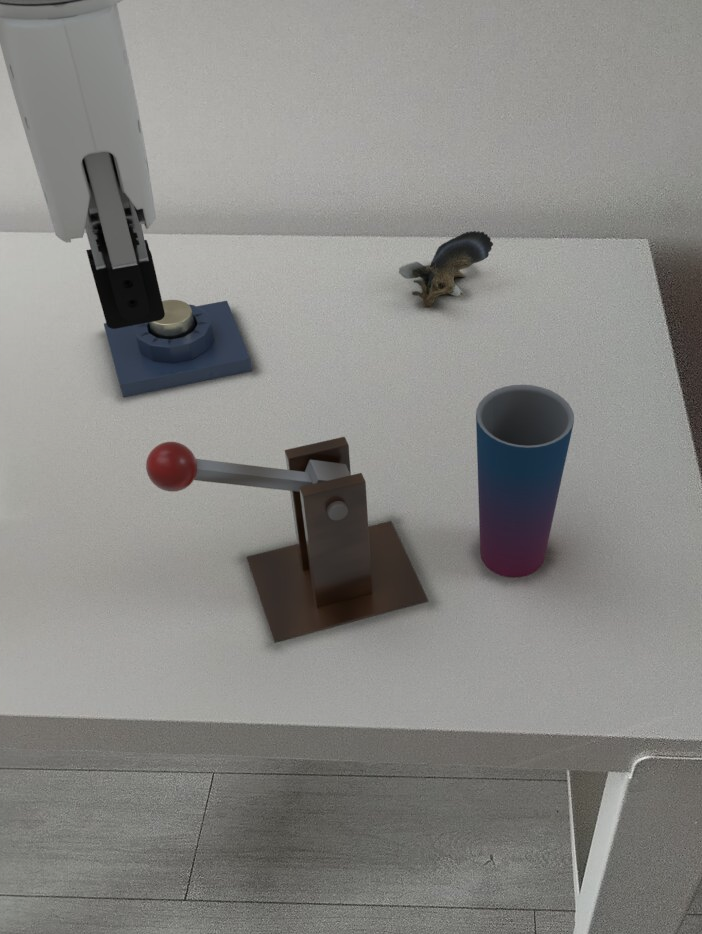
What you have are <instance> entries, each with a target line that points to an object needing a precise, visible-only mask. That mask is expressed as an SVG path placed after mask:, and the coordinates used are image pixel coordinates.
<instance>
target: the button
mask: <svg viewBox="0 0 702 934" xmlns="http://www.w3.org/2000/svg"><path fill="white" fill-rule="evenodd" d="M162 303H163V308H164V312H165V316H164V318H163V319H161V320H159V321H154V322H149V324H150V328H151V332H152V334H153V335H154V336H155V337H157V338H161V339H169V340H171V339H176V338H182V337H185V336H186V335H188V334H190V333H191V332H192V331H193V330H194V327H195V325H194V320H193V315H192V310H191V307H190V306H189V305H190V304H189V303H187V302H186V301H183V300H178V299H165V300H162ZM188 304H189V305H188Z"/></svg>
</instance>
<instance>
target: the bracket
mask: <svg viewBox="0 0 702 934" xmlns="http://www.w3.org/2000/svg"><path fill="white" fill-rule="evenodd" d="M347 440H348V439H347V438H346V437H345V436H340V437H337V438H332V439H328V440H323V441H319V442H315V443H310V444H305V445H301V446H296V447H292V448H287V449H284V457H285V464H286V470H293V471H302V472H305V470H306V467H307V465H308V463H309V460H318V461H326V462H333V463H341V464H346V466H347V468H348V471H349V473H350V476H345V477H341V478H337V479H333V480H328V481H324V482H320V483H315V484H311V485H307V486H303V487H300V488H299V489H300V492H297V491H289V493H290V502H291V509H292V514H293V515H292V516H293V522H294V523H293V524H294V530H295V539H296V544H292V545H288V546H284V547H279V548H276V549H272V550H268V551H264V552H263V551H262V552H260V553H256V554H251V555H248V556H247V555H246V557H245V559H246V561H247V564H248V568H249V570H250V573H251V576H252V580H253V582H254V585H255V588H256V591H257V595H258V597H259V598H258V599H259V601H260V604H261V607H262V609H263V613H264V616H265V619H266V621H267V625H268V628H269V631H270V634H271V637H272V641H273V643H274V644H275V643H279V642H282V641H287V640H290V639H294V638H298V637H301V636H305V635H309V634H313V633H317V632H320V631H324V630H327V629H331V628H335V627H339V626H343V625H346V624H351V623H354V622H358V621H361V620H365V619H369V618H372V617H376V616H381V615H384V614H387V613H391V612H395V611H398V610H402V609H405V608H410V607H414V606H417V605H420V604H425V603H428V602H429V599H428V597H427V594H426V592H425V590H424V588H423V586H422V584H421V582H420V579H419V577H418V575H417V573H416V571H415V569H414V566H413V564H412V562H411V560H410V558H409V556H408V554H407V552H406V550H405V548H404V545H403V543H402V541H401V539H400V537H399V535H398V532H397V531H396V528H395V526H394V524H393V522H392V520H389V521H385V522H380V523H376V524H373V525H369V516H368V514H369V513H368V499H367V498H368V497H367V483H366V482H367V481H366V480H365V477H364V475H363V473H362V472H359V473H355V474H354V473H353V474H352V471H351V458H350V457H351V456H350V445H349V443H348V441H347Z"/></svg>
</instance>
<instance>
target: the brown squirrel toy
mask: <svg viewBox="0 0 702 934" xmlns="http://www.w3.org/2000/svg"><path fill="white" fill-rule="evenodd" d="M491 240H492V238H491V237H490V236H488V233H485V231H481V232H480V231H479V230H478V231H476V230H474V231H472V230H470V231H466V232H463V233H461V234H460V235H458V236H455V237H453V238H451V239H449V240H448V241H446V242H444V243H442V244H440V246H438V248H437V249H436V252H435V254H434V255H433V258H432V260H431V262H430V264H427V265H423V264H422V263H420V262H418V261H413V262H409V263H406V264H404V265H401V266H400V267H399V268H398V274H399V275H401V277H403V278H404V279H408V280H410V279H414V280H413V283H416V284H418V285H419V286H420V288H421V292H420V291H417V290H416V291H411V292H412V293H411V294H412V295H413V296H415V297H416V296H417V297H418V296H419V297H420V298H421V299H422V307H423V308H431V307H432V306H433V305H434V303H435V300H436V298H437V297H439V296H441V295H446V294H449V295H451V296H453V297H461V296H463V294H464V293H463V291H462V290H461V289H460V287H459V286H458V285H457V284H456V282H455V278H467V275H466V274H464V273H463V272H461V270H464V269H467V268H470V267H471V266H472V265H473V264H477V263H480V262H482V261H484V260H485V259H487V258H488V257H489V253H490V252H491V251H492V249H493V248H492V247H493V246H494V243H493V242H492V241H491ZM416 278H421V279H416ZM422 279H423V280H422Z"/></svg>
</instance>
